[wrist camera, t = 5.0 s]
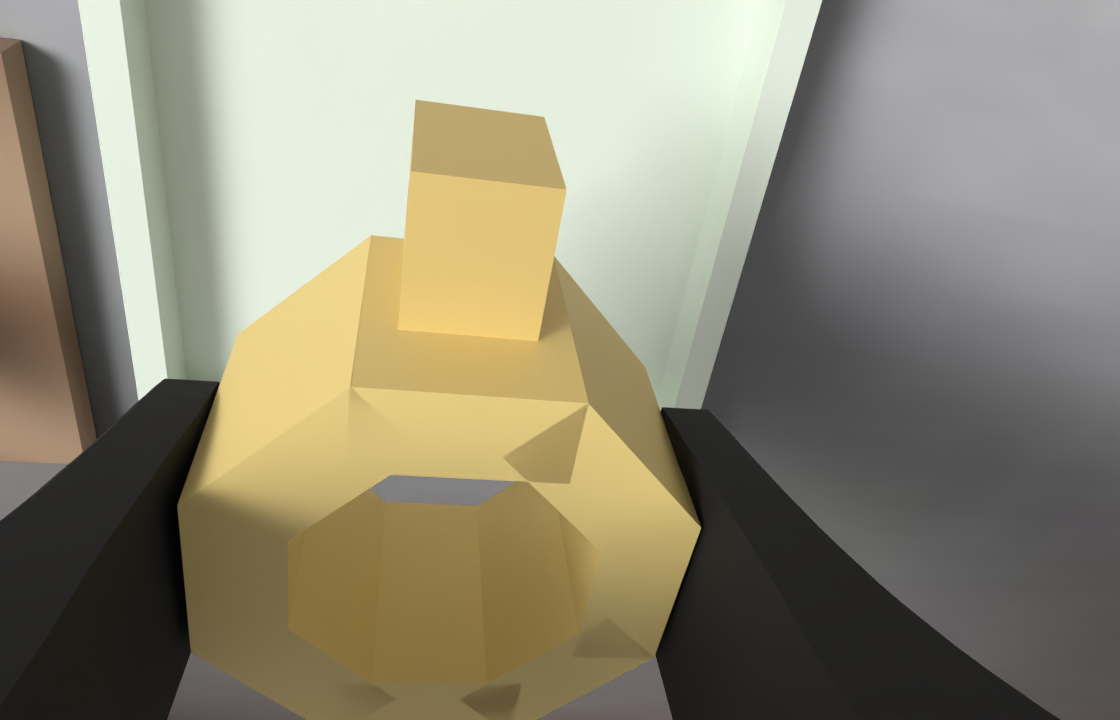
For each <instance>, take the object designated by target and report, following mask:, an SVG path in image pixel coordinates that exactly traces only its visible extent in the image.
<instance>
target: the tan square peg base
mask: <svg viewBox="0 0 1120 720" xmlns="http://www.w3.org/2000/svg"><path fill="white" fill-rule="evenodd" d="M95 440H97V437H96V432H95V427H94V421H93V416H92V411H91V406H90V401H89V395H88V390H87V385H86V380H85V374H84V369H83V364H82V359H81V353H80V348H79V343H78V338H77V332H76V327H75V322H74V317H73V311H72V306H71V301H70V296H69V290H68V285H67V280H66V275H65V269H64V264H63V259H62V254H61V248H60V243H59V238H58V233H57V227H56V222H55V217H54V212H53V206H52V201H51V196H50V191H49V185H48V180H47V175H46V170H45V164H44V159H43V154H42V149H41V144H40V138H39V133H38V128H37V123H36V117H35V112H34V107H33V102H32V96H31V91H30V86H29V81H28V75H27V70H26V65H25V60H24V54H23V49H22V44H21V40H16V39H7V38H0V461H16V462H41V463H65V464H69V463H71V462H72V461H73V460H74V459H75V458H76V457H77V456H79V455H80V454H81V453H82V452H83V451H84V450H85V449H87V448H88V447H89V446H90V445H91V444H92V443H93V442H94V441H95Z"/></svg>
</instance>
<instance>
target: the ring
mask: <svg viewBox="0 0 1120 720" xmlns="http://www.w3.org/2000/svg"><path fill="white" fill-rule="evenodd" d="M566 191H567V189H566V186H565V182H564V179H563V176H562V173H561V169H560V166H559V163H558V160H557V157H556V153H555V150H554V147H553V144H552V140H551V137H550V134H549V131H548V127H547V124H546V121H545V118H544V117H541V116H534V115H527V114H519V113H512V112H504V111H497V110H489V109H482V108H475V107H467V106H460V105H452V104H445V103H437V102H430V101H423V100H415V112H414V124H413V136H412V149H411V161H410V173H409V185H408V197H407V209H406V221H405V233H404V239H403V238H394V237H384V236H374V235H371V236H369V237H368V238H367V239H365V240H364V241H363V242H361V243H360V244H359V245H357V246H356V247H355V248H353V249H352V250H351V251H349V252H348V253H346V254H345V255H344V256H342V257H341V258H340V259H338V260H337V261H336V262H334V263H333V264H332V265H330V266H329V267H328V268H326V269H325V270H324V271H322V272H321V273H320V274H318V275H317V276H315V277H314V278H313V279H311V280H310V281H309V282H307V283H306V284H305V285H303V286H302V287H301V288H299V289H298V290H297V291H295V292H294V293H293V294H291V295H290V296H288V297H287V298H286V299H284V300H283V301H282V302H280V303H279V304H278V305H276V306H275V307H274V308H272V309H271V310H270V311H268V312H267V313H266V314H264V315H263V316H262V317H260V318H259V319H257V320H256V321H255V322H253V323H252V324H251V325H249V326H248V327H247V328H245V329H244V330H243V331H241V332H240V333H239V334H237V337H236V340H235V343H234V346H233V348H232V351H231V354H230V357H229V360H228V363H227V365H226V368H225V371H224V374H223V377H222V380H221V382H220V385H219V388H218V391H217V394H216V397H215V400H214V402H213V405H212V408H211V411H210V414H209V417H208V419H207V422H206V425H205V428H204V431H203V434H202V436H201V439H200V442H199V445H198V448H197V451H196V454H195V456H194V459H193V462H192V465H191V468H190V471H189V473H188V476H187V479H186V482H185V485H184V488H183V490H182V493H181V496H180V499H179V502H178V505H177V509H178V520H179V530H180V541H181V552H182V563H183V573H184V584H185V595H186V605H187V616H188V627H189V638H190V648H191V653H192V654H194V655H196V656H198V657H199V658H201V659H203V660H204V661H206V662H208V663H210V664H211V665H213V666H215V667H216V668H218V669H220V670H222V671H223V672H225V673H227V674H228V675H230V676H232V677H234V678H235V679H237V680H239V681H241V682H242V683H244V684H246V685H247V686H249V687H251V688H253V689H254V690H256V691H258V692H259V693H261V694H263V695H265V696H266V697H268V698H270V699H271V700H273V701H275V702H277V703H278V704H280V705H282V706H284V707H285V708H287V709H289V710H290V711H292V712H294V713H296V714H297V715H299V716H301V717H302V718H304V719H306V720H537V719H539V718H541V717H543V716H544V715H546V714H548V713H550V712H552V711H554V710H556V709H558V708H560V707H561V706H563V705H565V704H567V703H569V702H571V701H573V700H575V699H577V698H579V697H580V696H582V695H584V694H586V693H588V692H590V691H592V690H594V689H596V688H598V687H599V686H601V685H603V684H605V683H607V682H609V681H611V680H613V679H615V678H617V677H618V676H620V675H622V674H624V673H626V672H628V671H630V670H632V669H634V668H636V667H637V666H639V665H641V664H643V663H645V662H647V661H649V660H651V659H653V658H654V656H655V654H656V651H657V648H658V645H659V643H660V640H661V637H662V634H663V632H664V629H665V626H666V623H667V621H668V618H669V615H670V612H671V610H672V607H673V604H674V601H675V599H676V596H677V593H678V590H679V588H680V585H681V582H682V579H683V577H684V574H685V571H686V568H687V566H688V563H689V560H690V557H691V555H692V552H693V549H694V546H695V544H696V541H697V538H698V535H699V533H700V530H701V526H700V523H699V520H698V517H697V514H696V511H695V508H694V506H693V503H692V500H691V497H690V494H689V491H688V488H687V485H686V483H685V480H684V478H683V475H682V472H681V470H680V467H679V465H678V462H677V459H676V456H675V453H674V450H673V447H672V444H671V441H670V438H669V435H668V432H667V429H666V426H665V423H664V420H663V417H662V414H661V411H660V408H659V405H658V402H657V399H656V397H655V394H654V391H653V388H652V385H651V382H650V379H649V377H648V374H647V371H646V368H645V366H644V365H643V364H642V362H641V361H640V360H639V359H638V357H637V356H636V355H635V354H634V353H633V351H632V350H631V349H630V348H629V346H628V345H627V344H626V343H625V342H624V340H623V339H622V338H621V337H620V336H619V334H618V333H617V332H616V331H615V329H614V328H613V327H612V326H611V325H610V323H609V322H608V321H607V320H606V318H605V317H604V316H603V315H602V314H601V312H600V311H599V310H598V309H597V307H596V306H595V305H594V304H593V303H592V301H591V300H590V299H589V298H588V296H587V295H586V294H585V293H584V292H583V290H582V289H581V288H580V287H579V285H578V284H577V283H576V282H575V281H574V279H573V278H572V277H571V276H570V274H569V273H568V272H567V271H566V270H565V268H564V267H563V266H562V265H561V263H560V262H559V261H558V260H557V259H556V257H555V256H554V254H555V249H556V244H557V239H558V233H559V228H560V223H561V218H562V212H563V207H564V202H565V196H566ZM389 475H405V476H424V477H444V478H464V479H483V480H503V481H517V482H515V483H514V484H512V485H510V486H509V487H507V488H506V489H504V490H502V491H501V492H499V493H497V494H496V495H494V496H493V497H491V498H489V499H488V500H486V501H484V502H483V503H481V504H480V505H478V506H464V505H442V504H419V503H397V502H384V501H383V500H382V499H381V498H379V497H378V496H377V495H376V494H375V493H373V492H372V491H371V490H370V489H369V488H371V487H372V486H374V485H375V484H377V483H379V482H380V481H382V480H383V479H385V478H386V477H388V476H389Z"/></svg>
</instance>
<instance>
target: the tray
mask: <svg viewBox="0 0 1120 720" xmlns="http://www.w3.org/2000/svg"><path fill="white" fill-rule="evenodd" d="M821 3H822V0H78V4H79V11H80V17H81V24H82V30H83V37H84V44H85V50H86V57H87V63H88V70H89V77H90V83H91V90H92V96H93V103H94V110H95V116H96V123H97V129H98V136H99V142H100V149H101V156H102V162H103V169H104V175H105V182H106V189H107V195H108V202H109V208H110V215H111V222H112V228H113V235H114V241H115V248H116V255H117V261H118V268H119V274H120V281H121V288H122V294H123V301H124V307H125V314H126V321H127V327H128V334H129V340H130V347H131V354H132V360H133V367H134V373H135V380H136V386H137V393H138V400H140V399H141V398H142V397H143V396H145V395H146V394H147V393H148V392H149V391H150V390H151V389H152V388H154V387H155V386H156V385H157V384H158V383H160V382H161V381H162V380H163V379H181V380H199V381H216V382H219V384H220V382H221V380H222V377H223V374H224V371H225V368H226V365H227V363H228V360H229V357H230V354H231V351H232V348H233V346H234V343H235V340H236V337H237V334H239V333H240V332H241V331H243V330H244V329H245V328H247V327H248V326H249V325H251V324H252V323H253V322H255V321H256V320H257V319H259V318H260V317H262V316H263V315H264V314H266V313H267V312H268V311H270V310H271V309H272V308H274V307H275V306H276V305H278V304H279V303H280V302H282V301H283V300H284V299H286V298H287V297H288V296H290V295H291V294H293V293H294V292H295V291H297V290H298V289H299V288H301V287H302V286H303V285H305V284H306V283H307V282H309V281H310V280H311V279H313V278H314V277H315V276H317V275H318V274H320V273H321V272H322V271H324V270H325V269H326V268H328V267H329V266H330V265H332V264H333V263H334V262H336V261H337V260H338V259H340V258H341V257H342V256H344V255H345V254H346V253H348V252H349V251H351V250H352V249H353V248H355V247H356V246H357V245H359V244H360V243H361V242H363V241H364V240H365V239H367V238H368V237H369V236H371V235H374V236H384V237H394V238H403V239H404V233H405V221H406V209H407V197H408V185H409V173H410V161H411V149H412V136H413V124H414V112H415V100H423V101H430V102H437V103H445V104H452V105H460V106H467V107H475V108H482V109H489V110H497V111H504V112H512V113H519V114H527V115H534V116H541V117H544V118H545V121H546V124H547V127H548V131H549V134H550V137H551V140H552V144H553V147H554V150H555V153H556V157H557V160H558V163H559V166H560V169H561V173H562V176H563V179H564V182H565V186H566V189H567V191H566V196H565V202H564V207H563V212H562V218H561V223H560V228H559V233H558V239H557V244H556V249H555V254H554V256H555V257H556V259H557V260H558V261H559V262H560V263H561V265H562V266H563V267H564V268H565V270H566V271H567V272H568V273H569V274H570V276H571V277H572V278H573V279H574V281H575V282H576V283H577V284H578V285H579V287H580V288H581V289H582V290H583V292H584V293H585V294H586V295H587V296H588V298H589V299H590V300H591V301H592V303H593V304H594V305H595V306H596V307H597V309H598V310H599V311H600V312H601V314H602V315H603V316H604V317H605V318H606V320H607V321H608V322H609V323H610V325H611V326H612V327H613V328H614V329H615V331H616V332H617V333H618V334H619V336H620V337H621V338H622V339H623V340H624V342H625V343H626V344H627V345H628V346H629V348H630V349H631V350H632V351H633V353H634V354H635V355H636V356H637V357H638V359H639V360H640V361H641V362H642V364H643V365H644V366H645V368H646V371H647V374H648V377H649V379H650V382H651V385H652V388H653V391H654V394H655V397H656V399H657V402H658V405H659V408H660V411H661V409H662V407H669V408H686V409H701V407H702V403H703V400H704V397H705V393H706V390H707V387H708V383H709V380H710V376H711V373H712V370H713V366H714V363H715V360H716V356H717V353H718V350H719V346H720V343H721V339H722V336H723V333H724V329H725V326H726V323H727V319H728V316H729V313H730V309H731V306H732V302H733V299H734V296H735V292H736V289H737V286H738V282H739V279H740V276H741V272H742V269H743V265H744V262H745V259H746V255H747V252H748V249H749V245H750V242H751V238H752V235H753V232H754V228H755V225H756V222H757V218H758V215H759V212H760V208H761V205H762V201H763V198H764V195H765V191H766V188H767V185H768V181H769V178H770V175H771V171H772V168H773V164H774V161H775V158H776V154H777V151H778V148H779V144H780V141H781V138H782V134H783V131H784V127H785V124H786V121H787V117H788V114H789V111H790V107H791V104H792V101H793V97H794V94H795V90H796V87H797V84H798V80H799V77H800V74H801V70H802V67H803V63H804V60H805V57H806V53H807V50H808V47H809V43H810V40H811V37H812V33H813V30H814V26H815V23H816V20H817V16H818V13H819V10H820V6H821Z"/></svg>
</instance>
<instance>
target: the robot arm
mask: <svg viewBox="0 0 1120 720" xmlns="http://www.w3.org/2000/svg"><path fill="white" fill-rule="evenodd" d="M219 385H220V384H219V382H216V381H199V380H181V379H163V380H162V381H161V382H160V383H158V384H157V385H156V386H155V387H154V388H152V389H151V390H150V391H149V392H148V393H147V394H146V395H145V396H143V397H142V398H141V399H140V400H139V401H138V402H137V403H136V404H135V405H134V406H133V407H131V408H130V409H129V410H128V411H127V412H126V413H125V414H124V415H123V416H122V417H121V418H120V419H118V420H117V421H116V422H115V423H114V424H113V425H112V426H111V427H110V428H109V429H108V430H106V431H105V432H104V433H103V434H102V435H101V436H100V437H99V438H98V439H97V440H95V441H94V442H93V443H92V444H91V445H90V446H89V447H88V448H87V449H85V450H84V451H83V452H82V453H81V454H80V455H79V456H77V457H76V458H75V459H74V460H73V461H72V462H71V463H69V464H68V465H67V466H66V467H65V468H64V469H62V470H61V471H60V472H59V473H58V474H57V475H55V476H54V477H53V478H52V479H51V480H50V481H48V482H47V483H46V484H45V485H44V486H43V487H41V488H40V489H39V490H38V491H37V492H36V493H34V494H33V495H32V496H31V497H30V498H28V499H27V500H26V501H25V502H24V503H22V504H21V505H20V506H19V507H17V508H16V509H15V510H14V511H12V512H11V513H10V514H8V515H7V516H6V517H5V518H3V519H2V520H1V521H0V720H167V718H168V715H169V712H170V709H171V706H172V704H173V701H174V698H175V695H176V692H177V690H178V687H179V684H180V681H181V678H182V676H183V673H184V670H185V667H186V664H187V661H188V659H189V656H190V653H191V648H190V638H189V627H188V616H187V605H186V595H185V584H184V573H183V563H182V552H181V541H180V530H179V520H178V509H177V505H178V502H179V499H180V496H181V493H182V490H183V488H184V485H185V482H186V479H187V476H188V473H189V471H190V468H191V465H192V462H193V459H194V456H195V454H196V451H197V448H198V445H199V442H200V439H201V436H202V434H203V431H204V428H205V425H206V422H207V419H208V417H209V414H210V411H211V408H212V405H213V402H214V400H215V397H216V394H217V391H218V388H219ZM661 414H662V417H663V420H664V423H665V426H666V429H667V432H668V435H669V438H670V441H671V444H672V447H673V450H674V453H675V456H676V459H677V462H678V465H679V467H680V470H681V472H682V475H683V478H684V480H685V483H686V485H687V488H688V491H689V494H690V497H691V500H692V503H693V506H694V508H695V511H696V514H697V517H698V520H699V523H700V526H701V530H700V533H699V535H698V538H697V541H696V544H695V546H694V549H693V552H692V555H691V557H690V560H689V563H688V566H687V568H686V571H685V574H684V577H683V579H682V582H681V585H680V588H679V590H678V593H677V596H676V599H675V601H674V604H673V607H672V610H671V612H670V615H669V618H668V621H667V623H666V626H665V629H664V632H663V634H662V637H661V640H660V643H659V645H658V648H657V651H656V658H657V662H658V666H659V669H660V673H661V677H662V681H663V684H664V688H665V692H666V696H667V699H668V703H669V707H670V711H671V714H672V718H673V720H1060V719H1059V718H1057V717H1055V716H1054V715H1052V714H1051V713H1049V712H1048V711H1046V710H1045V709H1043V708H1042V707H1040V706H1039V705H1037V704H1036V703H1035V702H1033V701H1032V700H1030V699H1029V698H1027V697H1026V696H1024V695H1023V694H1022V693H1020V692H1019V691H1017V690H1016V689H1014V688H1013V687H1012V686H1010V685H1009V684H1007V683H1006V682H1004V681H1003V680H1002V679H1000V678H999V677H997V676H996V675H994V674H993V673H992V672H990V671H989V670H987V669H986V668H984V667H983V666H982V665H980V664H979V663H978V662H976V661H975V660H974V659H972V658H971V657H970V656H968V655H967V654H966V653H964V652H963V651H962V650H960V649H959V648H958V647H956V646H955V645H954V644H952V643H951V642H950V641H948V640H947V639H946V638H945V637H943V636H942V635H941V634H940V633H939V632H937V631H936V630H935V629H934V628H932V627H931V626H930V625H929V624H927V623H926V622H925V621H924V620H922V619H921V618H920V617H919V616H917V615H916V614H915V613H914V612H912V611H911V610H910V609H909V608H907V607H906V606H905V605H904V604H902V603H901V602H900V601H899V600H898V599H897V598H895V597H894V596H893V595H892V594H891V593H890V592H888V591H887V590H886V589H885V588H884V587H883V586H882V585H880V584H879V583H878V582H877V581H876V580H875V579H874V578H873V577H872V576H870V575H869V574H868V573H867V572H866V571H865V570H864V569H863V568H862V567H861V566H860V565H859V564H857V563H856V562H855V561H854V560H853V559H852V558H851V557H850V556H849V555H848V554H847V553H846V552H844V551H843V550H842V549H841V548H840V547H839V546H838V545H837V544H836V543H835V542H834V541H833V540H832V539H831V538H830V537H829V536H828V535H827V534H826V533H825V532H824V531H823V530H822V529H821V528H820V527H818V526H817V525H816V524H815V522H814V521H813V520H812V519H811V518H810V517H809V516H808V515H807V514H806V513H805V512H804V511H803V510H802V509H801V508H800V507H799V506H798V505H797V504H796V503H795V502H794V501H793V500H792V499H791V498H790V497H789V496H788V495H787V494H786V493H785V492H784V491H783V490H782V489H781V487H780V486H779V485H778V484H777V483H776V482H775V481H774V480H773V479H772V478H771V477H770V476H769V475H768V474H767V473H766V471H765V470H764V469H763V468H762V467H761V466H760V465H759V464H758V463H757V462H756V461H755V460H754V459H753V457H752V456H751V455H750V454H749V453H748V452H747V451H746V450H745V449H744V448H743V447H742V445H741V444H740V443H739V442H738V441H737V440H736V439H735V438H734V437H733V436H732V435H731V434H730V432H729V431H728V430H727V429H726V428H725V427H724V426H723V425H722V424H721V423H720V422H719V421H718V420H717V419H716V418H715V417H714V416H713V415H712V414H711V413H710V412H709V411H708V410H703V409H686V408H669V407H662V409H661Z"/></svg>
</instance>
